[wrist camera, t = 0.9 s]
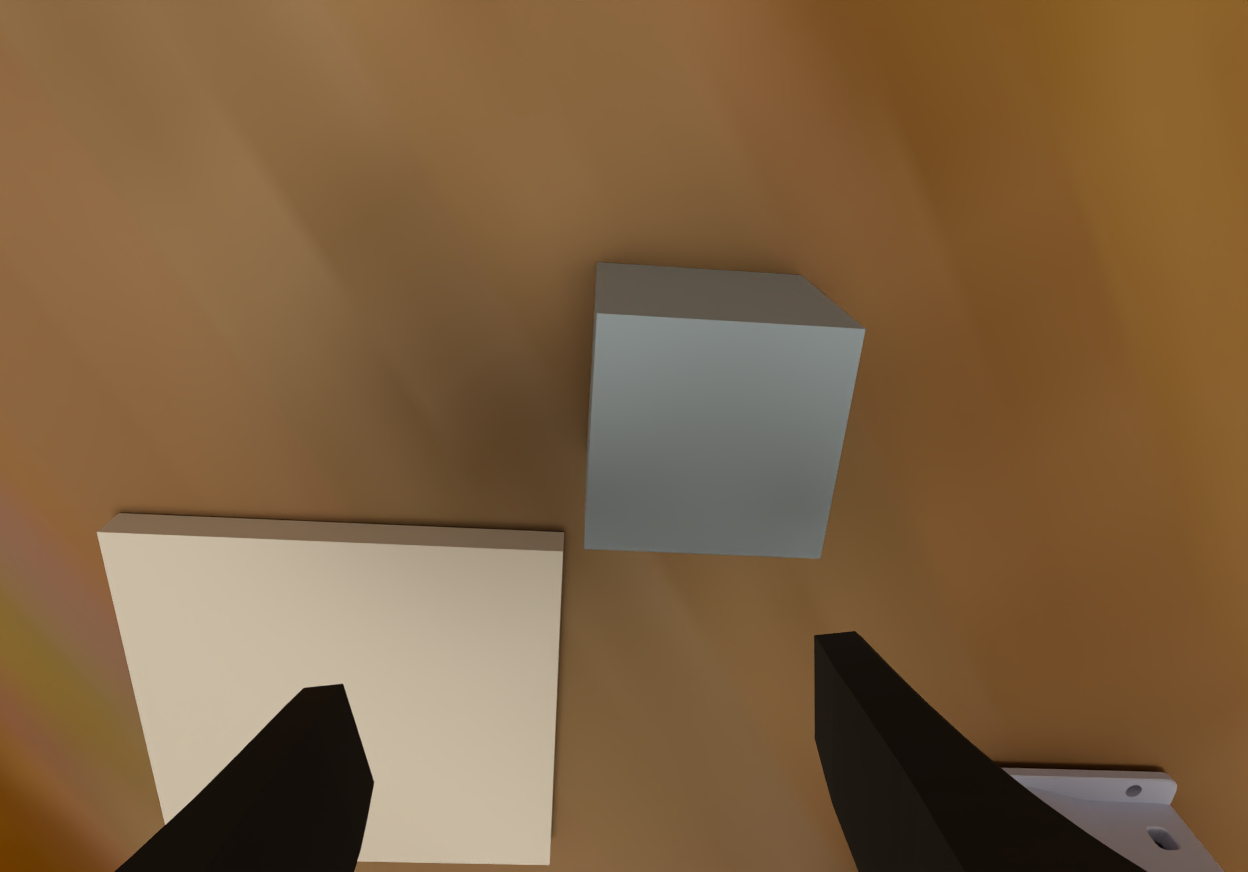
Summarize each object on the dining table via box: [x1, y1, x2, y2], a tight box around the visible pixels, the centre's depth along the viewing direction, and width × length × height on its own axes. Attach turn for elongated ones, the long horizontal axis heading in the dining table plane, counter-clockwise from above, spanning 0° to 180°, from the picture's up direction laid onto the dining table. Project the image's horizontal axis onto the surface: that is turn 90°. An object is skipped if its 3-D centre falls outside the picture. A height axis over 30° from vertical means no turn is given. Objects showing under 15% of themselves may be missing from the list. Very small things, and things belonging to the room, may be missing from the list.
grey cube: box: [584, 262, 865, 559], centre depth 17 cm, size 5×5×5 cm
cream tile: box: [97, 513, 564, 865], centre depth 23 cm, size 12×12×1 cm
